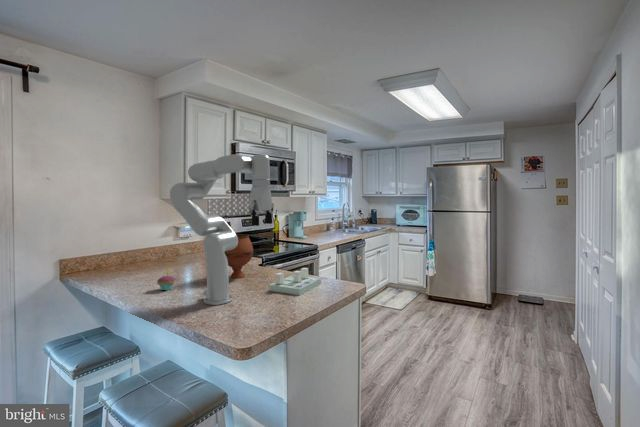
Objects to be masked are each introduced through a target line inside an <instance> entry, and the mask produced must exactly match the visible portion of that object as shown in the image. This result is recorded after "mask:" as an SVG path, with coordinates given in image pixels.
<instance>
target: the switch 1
mask: <svg viewBox="0 0 640 427" xmlns="http://www.w3.org/2000/svg"><path fill="white" fill-rule="evenodd" d="M284 274H285V273H284V272H278V273H275V282H276V284H282V283H284V277H285V276H284Z"/></svg>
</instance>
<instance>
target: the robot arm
mask: <svg viewBox="0 0 640 427" xmlns="http://www.w3.org/2000/svg"><path fill="white" fill-rule="evenodd" d="M270 165H271V164H270V157H269V156H268V155H266V154H253V156H249V155H245V154H239V153H238V154H237V153H236V154H229V155H225V156H219V157H218V158H216V159H213V160H207V161H203V162H198V163H193V164H191V165H190V166H189V167H188V170H187V175H188V177H189V179H191V180H192V181H194V182H184V181H183V182H178V183H175V184H173V185H172V186H171V188H170V190H169V200H170V202H171V205H172V207H173V208H174V209H175V211H176V212H178V213H179V215H180V216H182V218H183V219H184V221H185V222H186V223H187V224H188V225H189V227H190V228H191V229H192V230H193V231H194V233H195V234H196V235H198V236H200V237H204V238H203V241H202V242H203V243H202V245H203V251H204V254H205V255H204V256H205V265H206V266H205V267H206V289H204V291H202V295H204V296H205V298H204V299H203V303H204V305H209V306H217V305H218V306H219V305H224V304H228V303H230V302H232V301H233V296H232V295H230V288H229V286H230V285H229V282H230V280H229V279H230V278H229V266H228V260H227V257H226V255H225V251H229V250H232V249H234V248H235V247H236V246H237V245H238V237H237V235H236V234H237V233H236V232H235V230H233V228H232V226H230V225H229V224H228V223H227V221H226V220H225V218H223V217H221V215H217V214H206V213H205V211H203V210H202V209H201V208H200V207H199V205H197V204H196V203H194V202H193V201H200V200H203V199H204V198H206V196H208V194H209V193H210V191H211V189H212V188H213V186H214V185H215V183H216V182H217V180H219V179H220V180H221V179H222V178H224V177H225V175H228V174H234V173H235V174H236V173H237V174H238V173H239V174H251V184H252V186H251V188H250V189H251V190H250V198H249V201H250V203H249V205H248V206H247V207H248V210H249V213H250V216H251V225H252V226H254V227H259V226H260V215H259V214H260V212H265V214H264V218H265V219H264V220H265V222H264V223H265V224H266V225H267V224H270V225H272V224H273V212H274V207H275V204H274V203H273V201H272V192H271V170H270V169H271V167H270Z"/></svg>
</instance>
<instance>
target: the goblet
mask: <svg viewBox="0 0 640 427" xmlns="http://www.w3.org/2000/svg"><path fill="white" fill-rule="evenodd" d="M236 235H237V237H238V245H237V246H236V247H235V248H234V249H232V250H229V251H225V255H226V257H227V260H228V267H230V268H231V271H233V272H232V273H231V274H230V278H229V279H234V280H236V279H237V280H238V279H243V278H245V277H246V275H245V273H244V272H243V270H242V269H243V267H244V266H245V265H247V264H248V263H249V262H250V261H251V260H252V258H253V256H254V247H253V243H252V241H251V239H250V235H249V234H243V233H241V234H240V233H236Z"/></svg>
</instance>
